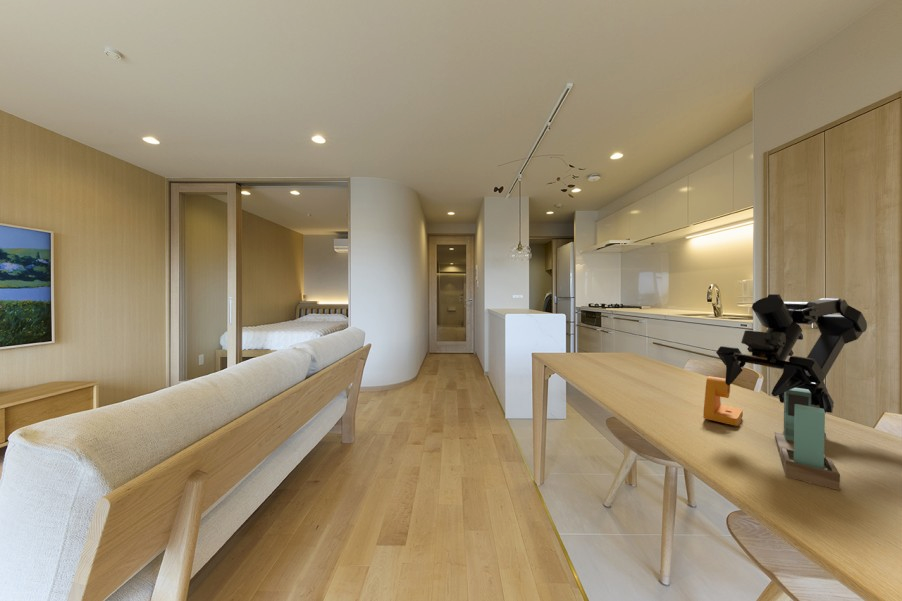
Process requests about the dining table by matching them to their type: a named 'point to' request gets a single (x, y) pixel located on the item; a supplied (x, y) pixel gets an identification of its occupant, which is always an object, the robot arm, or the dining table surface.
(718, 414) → the bracket
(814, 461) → the finger block
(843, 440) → the dining table surface
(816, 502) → the dining table surface
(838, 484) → the brown wooden stand
